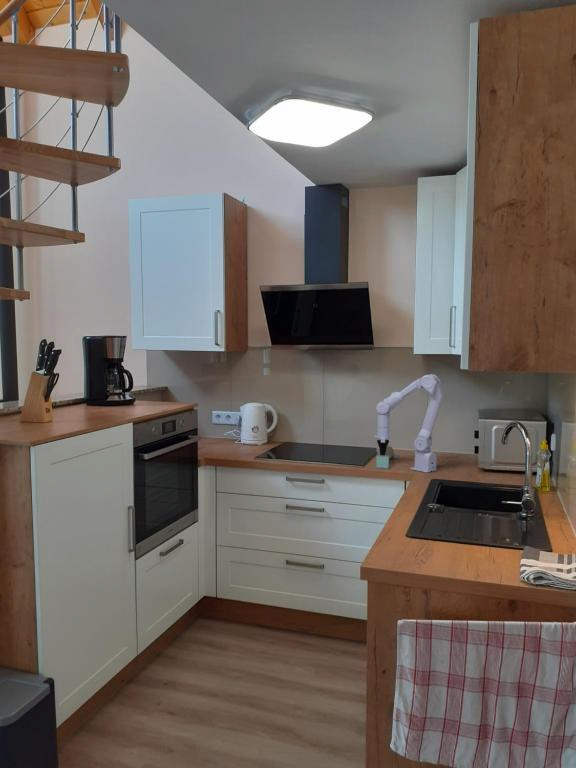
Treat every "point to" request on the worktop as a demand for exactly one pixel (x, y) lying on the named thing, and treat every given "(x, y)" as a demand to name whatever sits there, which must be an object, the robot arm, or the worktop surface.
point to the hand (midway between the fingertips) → (382, 455)
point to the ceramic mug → (388, 452)
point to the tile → (382, 462)
